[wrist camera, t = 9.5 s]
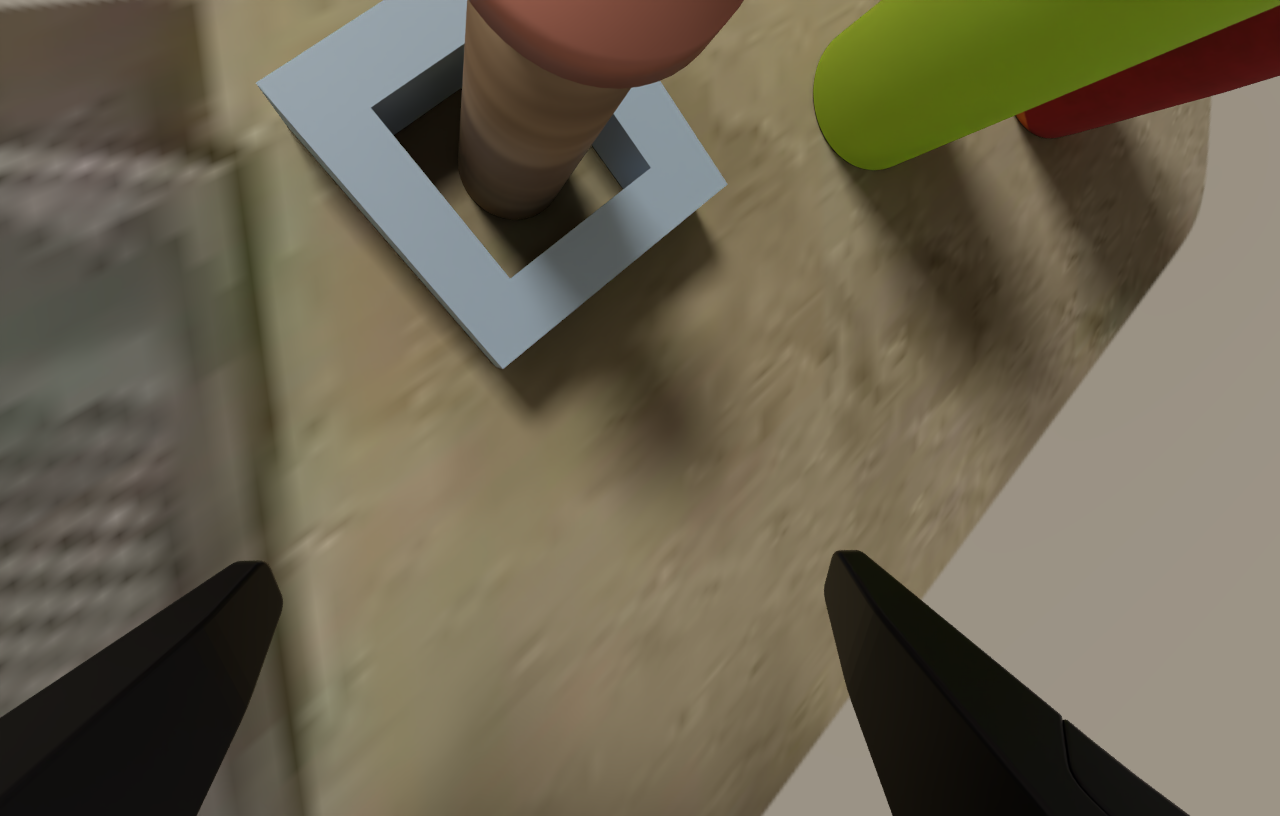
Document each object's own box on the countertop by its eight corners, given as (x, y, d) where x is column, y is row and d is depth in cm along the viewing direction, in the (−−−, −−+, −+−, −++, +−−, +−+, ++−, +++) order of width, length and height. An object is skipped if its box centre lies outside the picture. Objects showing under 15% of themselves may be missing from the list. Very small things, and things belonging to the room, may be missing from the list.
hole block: (495, 366, 21) (502, 369, 18) (285, 124, 18) (255, 83, 16) (693, 204, 23) (727, 184, 20) (527, -38, 20) (540, -102, 17)
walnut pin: (551, 258, 21) (704, 121, 9) (419, 200, 20) (370, -70, 7) (594, 136, 22) (810, -176, 9) (467, 70, 20) (503, -428, 7)
